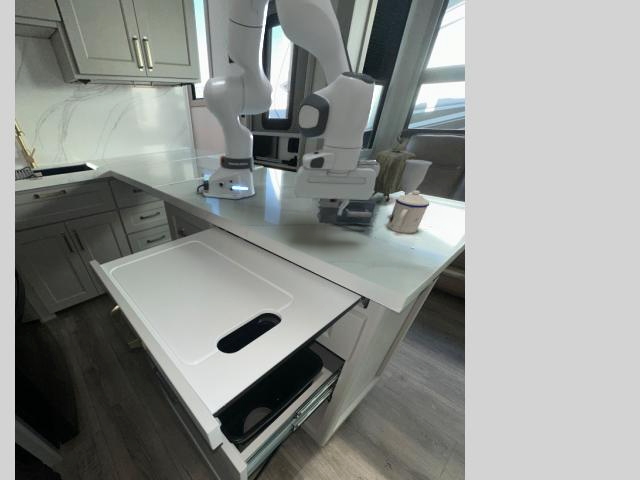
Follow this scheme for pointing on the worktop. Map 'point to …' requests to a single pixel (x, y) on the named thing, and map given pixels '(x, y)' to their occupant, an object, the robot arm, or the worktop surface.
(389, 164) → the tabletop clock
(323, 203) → the block
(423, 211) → the teacup with lid
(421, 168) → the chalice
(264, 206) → the worktop surface
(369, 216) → the drawer
